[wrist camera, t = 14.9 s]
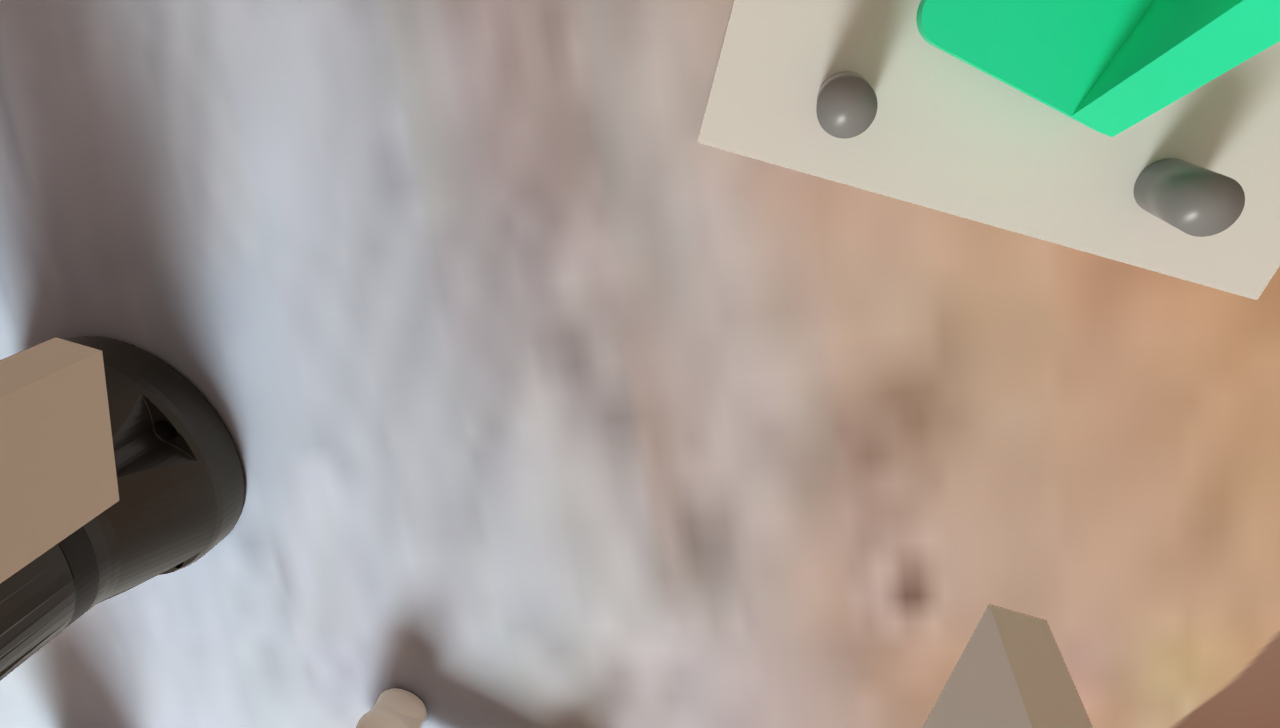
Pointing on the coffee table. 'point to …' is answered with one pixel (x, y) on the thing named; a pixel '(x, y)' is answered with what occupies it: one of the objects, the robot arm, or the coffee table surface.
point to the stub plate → (1005, 141)
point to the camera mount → (1102, 49)
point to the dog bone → (395, 711)
